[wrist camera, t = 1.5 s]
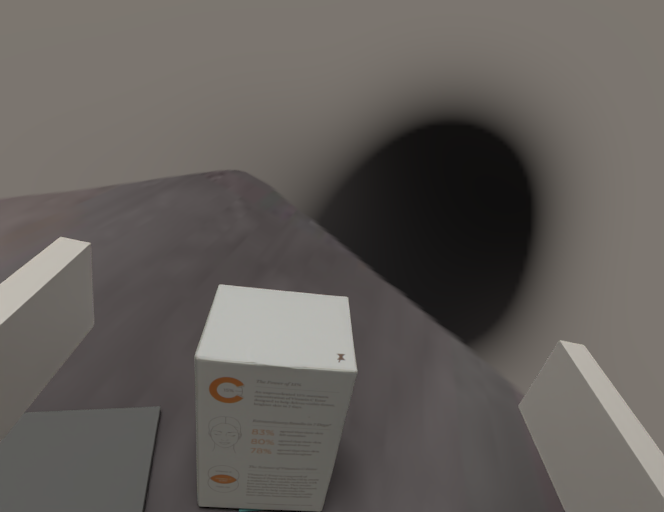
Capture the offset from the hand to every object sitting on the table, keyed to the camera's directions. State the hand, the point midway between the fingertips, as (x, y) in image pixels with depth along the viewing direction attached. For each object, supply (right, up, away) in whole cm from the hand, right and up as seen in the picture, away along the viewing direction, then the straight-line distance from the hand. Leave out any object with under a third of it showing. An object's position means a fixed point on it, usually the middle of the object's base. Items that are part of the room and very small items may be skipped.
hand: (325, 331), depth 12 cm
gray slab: (-17, -12, +15) cm, 26 cm away
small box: (-4, -13, +18) cm, 23 cm away
